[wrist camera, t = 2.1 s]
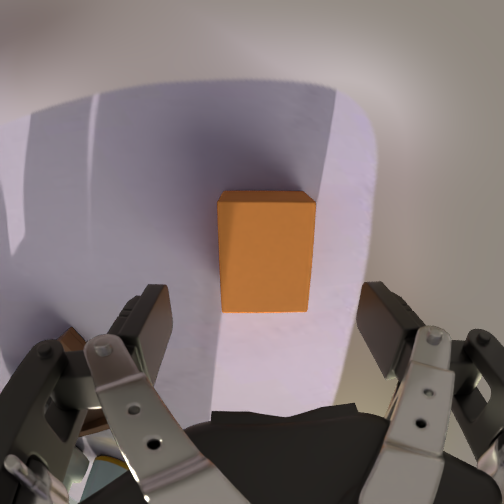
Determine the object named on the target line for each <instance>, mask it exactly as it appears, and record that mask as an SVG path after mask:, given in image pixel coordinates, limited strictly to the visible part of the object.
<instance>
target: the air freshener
mask: <svg viewBox="0 0 504 504" xmlns="http://www.w3.org/2000/svg"><path fill="white" fill-rule="evenodd" d="M88 466H89V460H88V459H87V457H86V456H85V455H84V454H83V453H82V452H81V451H80V450H79V449H78V448H77V447H76V446H75V447H74V450H73V453H72V456H71V459H70V462H69V465H68V468H67V471H66V475H65V478H64V481H63V484H64V485H65V487H66V489H67V491H68V493H69V490H70V487H71V485H72V483H73V482H74V483H80V482H81V481H82V479H83V477H84V475H85V473H86V471H87V468H88Z"/></svg>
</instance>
